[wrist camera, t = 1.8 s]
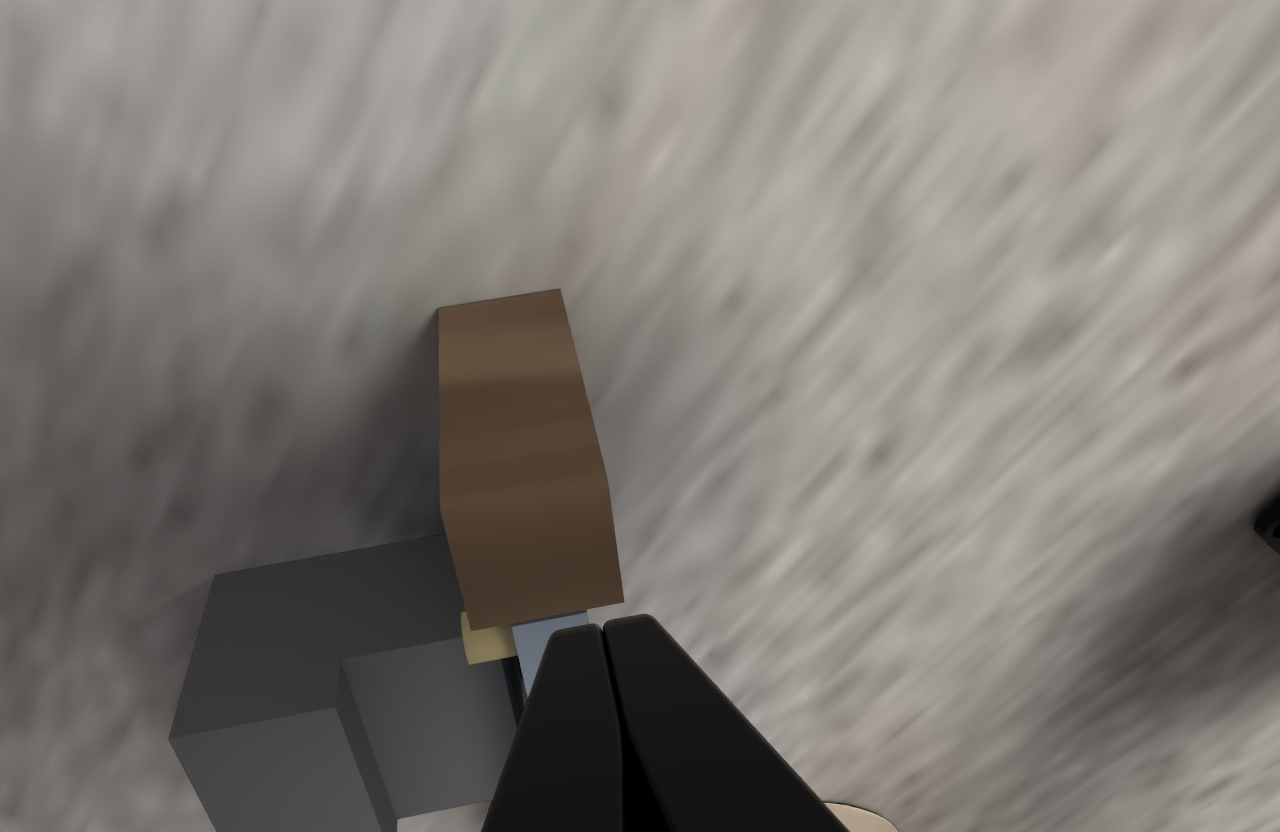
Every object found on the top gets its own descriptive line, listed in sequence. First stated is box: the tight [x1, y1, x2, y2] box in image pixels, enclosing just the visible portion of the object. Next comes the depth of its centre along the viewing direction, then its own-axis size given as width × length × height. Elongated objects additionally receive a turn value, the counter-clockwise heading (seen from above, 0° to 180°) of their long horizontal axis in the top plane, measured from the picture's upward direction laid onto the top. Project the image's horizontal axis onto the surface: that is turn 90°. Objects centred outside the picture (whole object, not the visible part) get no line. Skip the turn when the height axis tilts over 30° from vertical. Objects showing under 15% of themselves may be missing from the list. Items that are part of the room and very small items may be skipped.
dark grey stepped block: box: [169, 534, 524, 832], centre depth 22 cm, size 5×6×5 cm
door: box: [461, 610, 589, 697], centre depth 21 cm, size 11×2×6 cm, turn 5°
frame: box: [438, 289, 624, 631], centre depth 21 cm, size 16×2×7 cm, turn 5°
